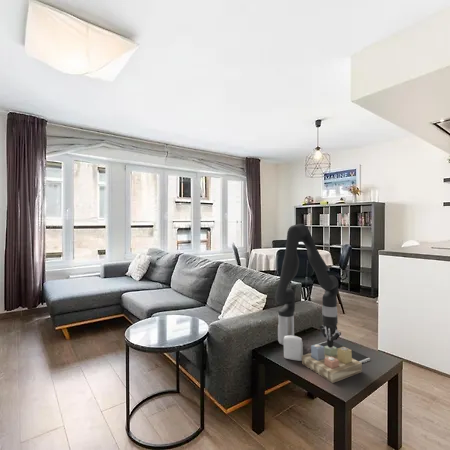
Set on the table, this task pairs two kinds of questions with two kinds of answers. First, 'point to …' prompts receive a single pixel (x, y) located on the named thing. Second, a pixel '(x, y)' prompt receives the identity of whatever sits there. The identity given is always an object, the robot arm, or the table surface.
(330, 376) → the board
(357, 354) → the smartphone
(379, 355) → the table surface
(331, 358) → the button
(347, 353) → the button
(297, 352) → the photo printer
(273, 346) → the table surface
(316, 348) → the button
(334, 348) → the button
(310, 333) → the table surface
